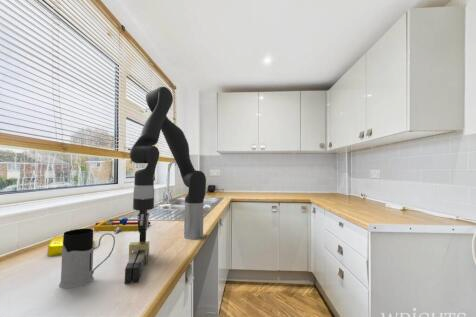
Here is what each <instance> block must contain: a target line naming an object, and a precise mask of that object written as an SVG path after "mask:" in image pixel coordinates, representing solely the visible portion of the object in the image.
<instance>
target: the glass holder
mask: <svg viewBox="0 0 476 317" xmlns="http://www.w3.org/2000/svg"><path fill="white" fill-rule="evenodd" d="M106 235H108V236H111V237H112V238H113V243H112V248H111V250H110V252H109V253H108V256H106V258H105V259H103V260H102V261H101V262H100V263H99V264H97V265H96V266H95V267H94V268H93V264H94V250H95V249H98V248H100V246H101V240H102V238H103V237H105V236H106ZM62 236H63V242H62V255H61V267H60V268H61V270H60V271H61V272H60V282H59V285H58V287H59V288H60V289H61V290H62V289H63V290H71V289H77V288H81V287H84V286H87V285H89V284H90V283H92V282H93V281H94V278H95V277H94V273H95V270H97V269H98V268H99V267H100V266H101V265H102V264H103V263H104V262H106V261H107V260H108V258H110V257H111V255H112V253H113V251H114V248H115V244H116V237H115V236H114V235H113V234H112V233H110V232H105V233H104V234H102V235H101V236H100V237H99V239H98V245H97V246H95V247H94V228H78V229H77V228H75V229H70V230H67V231H65V232H64V233H63V235H62Z"/></svg>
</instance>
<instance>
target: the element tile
mask: <svg viewBox="0 0 476 317" xmlns="http://www.w3.org/2000/svg"><path fill="white" fill-rule="evenodd" d="M63 236H64V235H56V236H54V237H52V238H51V240H50V242H49V244H48V245H47V256H48V257H56V256H62V242H63Z"/></svg>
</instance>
